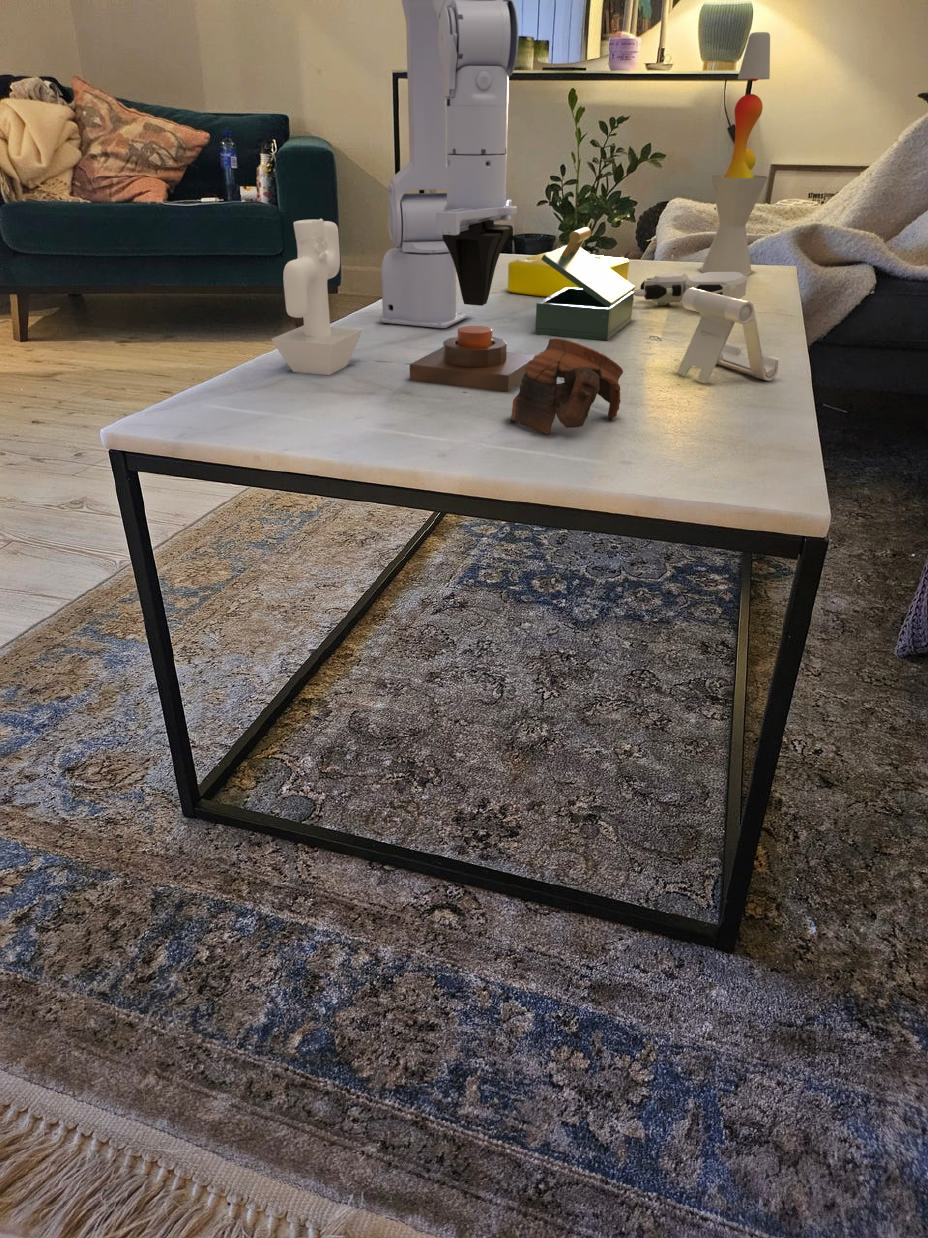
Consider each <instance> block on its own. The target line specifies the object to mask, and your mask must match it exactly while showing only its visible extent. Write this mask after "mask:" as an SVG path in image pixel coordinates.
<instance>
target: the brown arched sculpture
mask: <svg viewBox="0 0 928 1238" xmlns="http://www.w3.org/2000/svg"><path fill="white" fill-rule="evenodd" d="M525 371H526V373H525V374H524V376H523V378H522V380H521V383H520V384H519V392H518V394H516V395H515V397H514V398H513V400H512V408H511V415H510V418H509V419H510V421H514V422H517V423H519V424H520V425H521V426H524V427H526V428H529V429H532V430H534V431H537V432H539V433H542V434H545V435H546V436H548V435H550V434H551V429H552V425H553V423H554V421H555V418H556V417H557V419H558V420H559V422H560V424H562V426H564V427H565V428H567V429H573V428H579V427H583V426H584V424H585V422H586V420H587V419H588V416H589V412H590V409H591V406H592V405H593V403H594V402H595V400H596V398H597V395H598V396H599V397H601V398H602V399H603V400H604V401H606V402H607V403H608V404H609V405H608V413H607V417H608V419H609V420H612V419H614V418H615V417H617V415H618V411H619V410H620V404H621V385H620V384H619V380H620V378H621V377H622V375H623V373H624V370H623V368H622V367H621V366H620V365H619V364H618V363H617V362H615V361H614V360H612V359H611V358H610V357H608V356H607V355H605V354H603V353H600V352H599V351H597V350H595V349H594V348H591V347H589V346H586V345H584V344H581V343H578V342H575V341H572V340H569V339H568V340H567V339H563V338H556V337H555V338H550V339H549V340H548V343H547V346H546V349H545V350H543V351H540V352H539V353H538V354H536V356H535V357H534V358H533V359H532V360H530V361H529V363H528V365H527V366H526V367H525ZM558 378H561V379H563V382H561V383H557V382H558Z"/></svg>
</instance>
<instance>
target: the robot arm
mask: <svg viewBox="0 0 928 1238" xmlns="http://www.w3.org/2000/svg"><path fill="white" fill-rule="evenodd" d="M400 1H401V5H402V9H403V14H404V18H405V28H406V30H405V33H406V34H405V35H406V69H407V70H406V71H407V74H406V75H407V106H408V107H407V108H408V109H407V112H408V146H409V147H408V148H409V149H408V150H409V151H408V152H409V153H408V154H409V162H407V164H406V165H405V166H404V167H402V168H401V169H400V170H399V171H398V172H397V173H396V174H395V175H393V177H392V178H391V179H390V181H389V184H388V186H387V189H388V192H387V193H388V194H387V195H388V197H387V198H388V199H387V206H386V207H387V208H386V210H387V211H386V214H387V215H386V218H387V231H388V238H389V241H390V243H391V244H392V245H393V247H395V248H390V249H388V250H387V251H386V252H385V254H384V255H383V258H382V262H381V270H380V271H381V272H380V277H381V280H380V282H381V303H382V317H381V318H380V323H385V324H393V325H394V324H395V325H403V326H405V325H406V326H415V327H426V328H435V329H446V328H448V327H450V326H453V325H454V324H456V323H458V322H461V321H463V320H465V319H467V318H468V317H469V315H468V313H463V312H457V311H458V310H457V303H458V302H457V300H458V299H457V296H458V295H457V289H458V288H457V285H459V289H460V290H459V291H460V294H461V298H462V302H463V305H469V306H481V307H482V306H484V305H486V304H488V300H489V296H490V293H491V288H492V283H493V278H494V275H495V270H496V266H497V263H498V260H499V258H500V255H501V252H502V250H503V248H504V245H505V243H506V242H507V240H508V238H509V235H510V227H509V226H501V225H500V226H499V225H498V226H496V225H495V223H497V222H500V221H506V222H507V221H511V220H512V216H514V215H517V214H518V213H517V212H518V206H516V205H512V199H507V198H506V195H507V163H508V162H507V160H508V159H507V157H508V125H509V124H508V120H509V83H510V80H509V79H510V78H509V77H511V76H512V75H513V73H514V70H515V67H516V63H517V58H518V52H519V51H518V49H519V17H518V11H517V8H516V4H515V1H514V0H400ZM433 190H434V191H436V190H437V191H438V190H440V191H441V190H445V191H446V192H425V193H424V192H421V193H420V192H419V193H415V192H414V193H411V191H433ZM407 192H410V193H407ZM457 281H458V284H457Z"/></svg>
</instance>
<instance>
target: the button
mask: <svg viewBox="0 0 928 1238" xmlns="http://www.w3.org/2000/svg"><path fill="white" fill-rule="evenodd" d="M457 337H458V345H460V346H464V347H486V346H491V345H492V337H493V328H492V327H489V326H484V325H463V326H460V327H459V328H457Z"/></svg>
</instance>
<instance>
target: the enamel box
mask: <svg viewBox="0 0 928 1238" xmlns="http://www.w3.org/2000/svg"><path fill="white" fill-rule="evenodd" d="M634 296H635V295H634V291H632V292H631V293H629V294H628V295H627V296H625V297H624V298H622V299H621V300H619V301H618V302H617V303H615V304H614V305H612V306H611V307H609V308H608V307H606V306H605V305H603V304H602V303H601V302H599V301H598V300H596V299H595V298H594V297H592V296H591V295H590V294H588V293H587V292H585V291H584V290H583V289H581V288H569V287H566V288H564V289H562V290H560V291H558V292H556V293H555V294H553V295H551V296H549V297H546V298H544V299H542V300H540V301H538V302H536V306H535V307H536V308H535V330H534V333H535V335H544V336H545V335H546V336H556V337H565V338H566V337H569V338H575V339H577V338H578V339H587V340H596V341H597V340H598V341H608V340H609V339H611V338H612V337H613V336H615V335H616V334H617V333H618V332H620V331H621V330H622V329H623V328H624V327H626V326H627V325H628V324H630V323H631V322H632V316H633V307H634V305H633V304H634Z"/></svg>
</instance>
